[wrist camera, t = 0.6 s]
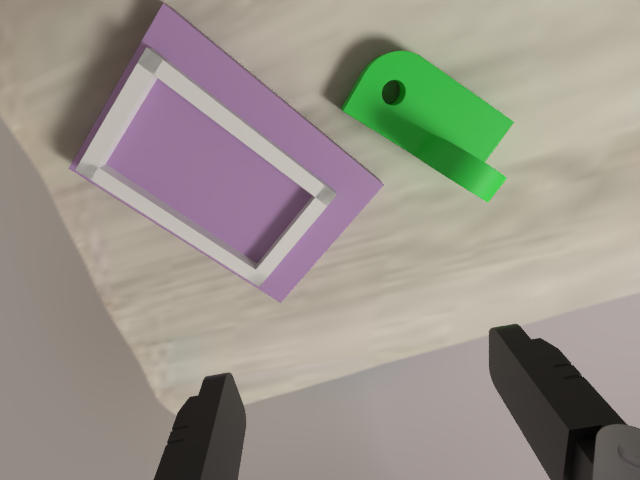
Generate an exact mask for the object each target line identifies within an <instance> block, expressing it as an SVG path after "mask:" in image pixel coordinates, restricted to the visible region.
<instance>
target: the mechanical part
mask: <svg viewBox="0 0 640 480" xmlns="http://www.w3.org/2000/svg"><path fill="white" fill-rule="evenodd" d="M391 80H394V81H396V82H397V83H398V85H399V88H400V94H399V97H398V98H397V100H396V101H395V102H393V103H391V104H387V103H385V102H384V100H383V98H382V90H383V87H384V85H385V84H386V83H387V82H389V81H391ZM341 110H342V111H344V112H345V113H347V114H348V115H350V116H352V117H353V118H355V119H356V120H358V121H360V122H361V123H363V124H365V125H366V126H368V127H369V128H371V129H373V130H374V131H376V132H377V133H379V134H381V135H382V136H384V137H385V138H387V139H389V140H390V141H392V142H394V143H395V144H397V145H398V146H400V147H402V148H403V149H405V150H406V151H408V152H410V153H411V154H413V155H414V156H416V157H417V158H419V159H420V160H422V161H423V162H425V163H426V164H428V165H429V166H431V167H432V168H434V169H435V170H437V171H438V172H440V173H441V174H443V175H445V176H446V177H448V178H449V179H451V180H452V181H454V182H456V183H457V184H459V185H460V186H462V187H464V188H465V189H467V190H468V191H470V192H472V193H473V194H475V195H476V196H478V197H480V198H481V199H483V200H485V201H486V202H489V201H490V199H491V198H492V197H493V195H494V194H495V193H496V191H497V190H498V189H499V188H500V186H501V185H502V184H503V182H504V181H505V180H506V177H505V176H504V175H502V174H501V173H500V172H498V171H497V170H495V169H494V168H492V167H491V166H489V165H488V164H486V163H485V161H486V160H487V158H488V157H489V155H490V154H491V153H492V151H493V150H494V149H495V147H496V146H497V145H498V143H499V142H500V141H501V139H502V138H503V136H504V135H505V134H506V132H507V131H508V130H509V128H510V127H511V126H512V124H513V123H514V122H513V121H512V120H510V119H509V118H508V117H506V116H505V115H503V114H502V113H500V112H499V111H498V110H496V109H495V108H493V107H492V106H490V105H489V104H488V103H486V102H485V101H483V100H482V99H481V98H479V97H478V96H476V95H475V94H473V93H472V92H471V91H469V90H468V89H466V88H465V87H463V86H462V85H461V84H459V83H458V82H456V81H455V80H454V79H452V78H451V77H449V76H448V75H446V74H445V73H444V72H442V71H441V70H439V69H438V68H437V67H435V66H434V65H432V64H431V63H429V62H428V61H427V60H425V59H424V58H422V57H421V56H419V55H417V54H415V53H412V52H408V51H395V52H390V53H386V54H383V55H381V56H378V57H377V58H375V59H374V60H372V61H371V62H370V63H369V64H368V65H367V66H366V67H365V68H364V70H363V71H362V73H361V74H360V76H359V78H358V79H357V81H356V83H355V85H354V87H353V88H352V90H351V92H350V94H349V95H348V97H347V99H346V101H345V102H344V104H343V106H342V108H341Z"/></svg>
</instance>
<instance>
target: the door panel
mask: <svg viewBox="0 0 640 480" xmlns="http://www.w3.org/2000/svg"><path fill="white" fill-rule="evenodd" d="M69 169H70V170H72V171H74V172H75V173H77V174H78V175H80V176H81V177H83V178H85V179H86V180H88V181H89V182H91V183H93V184H94V185H96V186H97V187H99V188H100V189H102V190H104V191H105V192H107V193H108V194H110V195H111V196H113V197H115V198H116V199H118V200H119V201H121V202H122V203H124V204H126V205H127V206H129V207H130V208H132V209H134V210H135V211H137V212H138V213H140V214H141V215H143V216H145V217H146V218H148V219H149V220H151V221H152V222H154V223H156V224H157V225H159V226H160V227H162V228H164V229H165V230H167V231H168V232H170V233H171V234H173V235H175V236H176V237H178V238H179V239H181V240H182V241H184V242H186V243H187V244H189V245H190V246H192V247H193V248H195V249H197V250H198V251H200V252H201V253H203V254H205V255H206V256H208V257H209V258H211V259H212V260H214V261H216V262H217V263H219V264H220V265H222V266H223V267H225V268H227V269H228V270H230V271H231V272H233V273H234V274H236V275H238V276H239V277H241V278H242V279H244V280H246V281H247V282H249V283H250V284H252V285H253V286H255V287H257V288H258V289H260V290H261V291H263V292H264V293H266V294H268V295H269V296H271V297H272V298H274V299H276V300H277V301H279V302H280V303H281V302H282V301H283V299H284V298H285V297H286V296H287V295H288V294H289V293H290V291H291V290H292V289H293V288H294V287H295V286H296V285H297V283H298V282H299V281H300V280H301V279H302V278H303V277H304V275H305V274H306V273H307V272H308V271H309V270H310V269H311V267H312V266H313V265H314V264H315V263H316V262H317V261H318V259H319V258H320V257H321V256H322V255H323V254H324V253H325V251H326V250H327V249H328V248H329V247H330V246H331V245H332V243H333V242H334V241H335V240H336V239H337V238H338V237H339V235H340V234H341V233H342V232H343V231H344V230H345V229H346V227H347V226H348V225H349V224H350V223H351V222H352V221H353V219H354V218H355V217H356V216H357V215H358V214H359V213H360V211H361V210H362V209H363V208H364V207H365V206H366V205H367V203H368V202H369V201H370V200H371V199H372V198H373V197H374V195H375V194H376V193H377V192H378V191H379V190H380V189H381V187H382V186H383V185H384V184H383V183H382V182H381V181H380V179H378V178H377V177H376V176H375V175H374V174H372V173H371V172H370V171H369V170H367V169H366V168H365V167H364V166H363V165H361V164H360V163H359V162H358V161H357V160H355V159H354V158H353V157H352V156H351V155H349V154H348V153H347V152H346V151H345V150H343V149H342V148H341V147H340V146H338V145H337V144H336V143H335V142H334V141H332V140H331V139H330V138H329V137H328V136H326V135H325V134H324V133H323V132H322V131H320V130H319V129H318V128H317V127H315V126H314V125H313V124H312V123H311V122H309V121H308V120H307V119H306V118H305V117H303V116H302V115H301V114H300V113H299V112H297V111H296V110H295V109H294V108H292V107H291V106H290V105H289V104H288V103H286V102H285V101H284V100H283V99H282V98H280V97H279V96H278V95H277V94H276V93H274V92H273V91H272V90H271V89H269V88H268V87H267V86H266V85H265V84H263V83H262V82H261V81H260V80H259V79H257V78H256V77H255V76H254V75H253V74H251V73H250V72H249V71H248V70H246V69H245V68H244V67H243V66H242V65H240V64H239V63H238V62H237V61H236V60H234V59H233V58H232V57H231V56H230V55H228V54H227V53H226V52H225V51H224V50H222V49H221V48H220V47H219V46H217V45H216V44H215V43H214V42H213V41H211V40H210V39H209V38H208V37H207V36H205V35H204V34H203V33H202V32H201V31H199V30H198V29H197V28H196V27H194V26H193V25H192V24H191V23H190V22H188V21H187V20H186V19H185V18H184V17H182V16H181V15H180V14H179V13H178V12H176V11H175V10H174V9H173V8H171V7H170V6H168V5H166V4H164V3H163V4H162V6H161V8H160V10H159V11H158V13H157V15H156V17H155V18H154V20H153V22H152V24H151V25H150V27H149V29H148V31H147V32H146V34H145V36H144V38H143V39H142V41H141V43H140V45H139V46H138V48H137V50H136V52H135V53H134V55H133V57H132V59H131V60H130V62H129V64H128V66H127V67H126V69H125V71H124V73H123V74H122V76H121V78H120V80H119V81H118V83H117V85H116V87H115V88H114V90H113V92H112V94H111V95H110V97H109V99H108V101H107V102H106V104H105V106H104V108H103V109H102V111H101V113H100V114H99V116H98V118H97V120H96V121H95V123H94V125H93V127H92V128H91V130H90V132H89V134H88V135H87V137H86V139H85V141H84V142H83V144H82V146H81V148H80V149H79V151H78V153H77V155H76V156H75V158H74V160H73V162H72V163H71V165H70V167H69Z"/></svg>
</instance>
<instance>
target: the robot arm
mask: <svg viewBox="0 0 640 480" xmlns="http://www.w3.org/2000/svg"><path fill="white" fill-rule="evenodd" d="M489 370H490V375H491V378H492V381H493V384H494V386H495V387H496V389H497V391H498V393H499V394H500V396H501V398H502V399H503V401H504V403H505V404H506V406H507V408H508V409H509V411H510V413H511V414H512V416H513V418H514V419H515V421H516V423H517V424H518V426H519V428H520V429H521V431H522V433H523V434H524V436H525V438H526V439H527V441H528V443H529V444H530V446H531V448H532V449H533V451H534V453H535V454H536V456H537V458H538V459H539V461H540V463H541V464H542V466H543V468H544V469H545V471H546V473H547V474H548V476H549V478H550V479H551V480H640V429H639V428H636V427H633V426H629V425H627V424H626V423H625V422H624V421H623V420H622V419H621V418H620V416H618V414H617V413H616V412H615V411H614V410H613V409H612V408H611V407H610V406H609V404H608V403H607V402H606V401H605V400H604V399H603V398H602V397H601V396H600V394H599V393H598V392H597V391H596V390H595V389H594V388H593V387H592V386H591V384H590V383H589V382H588V381H587V380H586V379H585V378H584V377H582V376H581V374H580V373H579V371H578V370H577V369H576V368H575V367H574V366H573V365H571V362H570V361H569V360H568V359H567V358H566V357H565V356H564V355H563V353H562V352H561V351H560V350H559V349H558V348H556V347H554V346H553V345H551V344H549V343H548V342H546V341H544V340H543V339H541V338H538V339H532V340H531V339H530V338H529V336H528V335H527V334H526V333H525V332H524V330H523V329H522V328H521V327H520V326H519V325H518V324H512V325H506V326H500V327H495V328H491V329H490V331H489ZM172 429H173V430H172V432H171V433H170V436H169V439H168V441H167V442H168V445H167V446H166V447H165V450H164V453H163V455H162V458H161V461H160V464H159V467H158V469H157V472H156V475H155V478H154V480H238V474H239V467H240V461H241V454H242V449H243V442H244V436H245V430H246V414H245V409H244V405H243V403H242V400H241V397H240V395H239V392H238V389H237V386H236V384H235V381H234V378H233V376H232V374H231V373H223V374H218V375H212V376H206V377H205V378H204V380H203V383H202V386H201V389H200V392H199V395H198V396H193V397H189V399H188V400H187V401H186V403H185V404H184V405H183V406H182V408H181V409H180V410H179V412H178V414H177V417H176V420H175V422H174V425H173V428H172Z"/></svg>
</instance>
